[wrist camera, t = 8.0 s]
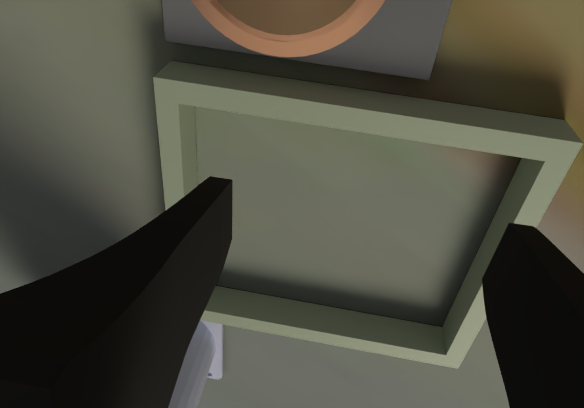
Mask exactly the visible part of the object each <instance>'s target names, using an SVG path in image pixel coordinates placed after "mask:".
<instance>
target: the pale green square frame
mask: <svg viewBox="0 0 584 408" xmlns="http://www.w3.org/2000/svg"><path fill="white" fill-rule="evenodd" d="M153 82H154V93H155V103H156V114H157V125H158V135H159V146H160V157H161V167H162V178H163V189H164V199H165V210H167V209H168V208H170V207H171V206H172V205H174V204H175V203H177V202H178V201H179V200H180V199H182V198H183V197H184V196H185V195H187V194H188V193H189V192H191V191H192V190H193V189H194V188H196V187H197V186H198V183H197V156H196V130H195V106H196V107H202V108H209V109H215V110H221V111H228V112H234V113H241V114H247V115H253V116H260V117H266V118H272V119H279V120H285V121H291V122H298V123H304V124H310V125H317V126H323V127H330V128H336V129H342V130H349V131H355V132H361V133H368V134H374V135H380V136H387V137H393V138H400V139H406V140H412V141H419V142H425V143H431V144H438V145H444V146H450V147H457V148H463V149H470V150H476V151H482V152H489V153H495V154H501V155H508V156H514V157H520V158H521V161H520V163H519V165H518V167H517V169H516V171H515V173H514V175H513V177H512V180H511V182H510V184H509V186H508V188H507V190H506V192H505V194H504V197H503V199H502V201H501V203H500V205H499V207H498V209H497V211H496V214H495V216H494V218H493V220H492V222H491V224H490V226H489V228H488V230H487V233H486V235H485V237H484V239H483V241H482V243H481V245H480V247H479V250H478V252H477V254H476V256H475V258H474V260H473V262H472V264H471V267H470V269H469V271H468V273H467V275H466V277H465V279H464V281H463V284H462V286H461V288H460V290H459V292H458V294H457V296H456V298H455V300H454V303H453V305H452V307H451V309H450V311H449V313H448V315H447V317H446V320H445V322H444V324H443V326H442V327H439V326H433V325H428V324H422V323H417V322H411V321H406V320H400V319H395V318H389V317H384V316H378V315H373V314H367V313H362V312H357V311H351V310H346V309H340V308H335V307H329V306H324V305H318V304H313V303H307V302H302V301H296V300H291V299H285V298H280V297H274V296H269V295H263V294H258V293H252V292H247V291H241V290H236V289H230V288H225V287H219V286H215V288H214V290H213V293H212V295H211V297H210V299H209V301H208V304H207V306H206V308H205V310H204V313H203V315H202V317H201V319H200V320H202V321H207V322H212V323H218V324H223V325H228V326H234V327H239V328H244V329H249V330H255V331H260V332H265V333H271V334H276V335H281V336H287V337H292V338H297V339H303V340H308V341H313V342H319V343H324V344H329V345H335V346H340V347H345V348H351V349H356V350H361V351H367V352H372V353H377V354H383V355H388V356H393V357H399V358H404V359H409V360H415V361H420V362H425V363H431V364H436V365H441V366H447V367H452V368H457V369H458V368H459V366H460V364H461V363H462V361H463V359H464V357H465V355H466V354H467V352H468V350H469V348H470V346H471V345H472V343H473V341H474V339H475V337H476V336H477V334H478V332H479V330H480V328H481V327H482V325H483V323H484V321H485V319H486V318H487V317H486V313H485V305H484V297H483V287H482V278H483V276H484V273H485V271H486V269H487V267H488V265H489V263H490V261H491V259H492V257H493V255H494V253H495V251H496V248H497V246H498V244H499V242H500V240H501V238H502V236H503V234H504V232H505V230H506V228H507V226H508V223H515V224H522V225H528V226H534V227H535V228H536V227H537V226H538V224H539V222H540V220H541V218H542V217H543V215H544V213H545V211H546V209H547V208H548V206H549V204H550V202H551V200H552V199H553V197H554V195H555V193H556V191H557V190H558V188H559V186H560V184H561V182H562V181H563V179H564V177H565V175H566V173H567V172H568V170H569V168H570V166H571V164H572V163H573V161H574V159H575V157H576V155H577V154H578V152H579V150H580V148H581V146H582V145H583V142H582V141H581V140H580V138H579V137H578V136H577V134H576V133H575V132H574V131H573V129H572V128H571V127H570V125H569V124H568V123H567V121H566V120H560V119H554V118H547V117H540V116H534V115H527V114H521V113H514V112H507V111H501V110H494V109H487V108H481V107H474V106H468V105H461V104H454V103H448V102H441V101H435V100H428V99H421V98H415V97H408V96H401V95H395V94H388V93H382V92H375V91H368V90H362V89H355V88H348V87H342V86H335V85H329V84H322V83H315V82H309V81H302V80H296V79H289V78H282V77H276V76H269V75H262V74H256V73H249V72H243V71H236V70H229V69H223V68H216V67H210V66H203V65H196V64H190V63H183V62H176V61H170V62H169V63H168V64H167V65H166V66H165V67H164V68H162V69H161V70H160V71H159V72H158V73H157V74H156V75H155V76H154V77H153Z"/></svg>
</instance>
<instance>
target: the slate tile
mask: <svg viewBox="0 0 584 408" xmlns="http://www.w3.org/2000/svg"><path fill="white" fill-rule="evenodd" d="M451 3H452V0H385V1H384V3H383V4H382V6H381V7H380V9H379V10H378V12H377V13H376V14H375V15H374V16H373V17H372V19H371V20H370V21H369V22H368V23H367V24H366V25H365V26H364V27H363V28H362V29H360V30H359V31H358V32H357V33H356V34H355V35H353V36H352V37H350V38H349V39H347V40H346V41H344V42H343V43H341V44H339V45H337V46H335V47H333V48H331V49H328V50H326V51H323V52H320V53H317V54H312V55H308V56H300V57H277V56H271V55H266V54H262V53H259V52H256V51H253V50H250V49H248V48H246V47H243V46H241V45H239V44H237V43H236V42H234V41H232V40H231V39H229V38H228V37H226V36H225V35H223V34H222V33H221V32H220V31H218V30H217V29H216V28H215V27H214V26H213V25H212V24H211V23H210V22H209V21H208V20H207V19H206V18H205V17H204V16H203V15H202V14H201V13H200V11H199V10H198V9H197V8H196V6H195V5H194V4H193V2H192V1H191V0H162V6H163V20H164V33H165V41H168V42H175V43H181V44H188V45H195V46H202V47H208V48H215V49H222V50H229V51H235V52H242V53H249V54H255V55H262V56H269V57H276V58H282V59H289V60H296V61H303V62H309V63H316V64H323V65H330V66H336V67H343V68H350V69H356V70H363V71H370V72H377V73H383V74H390V75H397V76H404V77H410V78H417V79H424V80H429V79H430V75H431V72H432V68H433V65H434V61H435V58H436V55H437V51H438V48H439V44H440V41H441V37H442V34H443V30H444V27H445V24H446V20H447V17H448V13H449V10H450V6H451Z"/></svg>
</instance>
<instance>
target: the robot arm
mask: <svg viewBox="0 0 584 408" xmlns="http://www.w3.org/2000/svg"><path fill="white" fill-rule="evenodd" d="M231 240H232V180H230V179H224V178H217V177H211V176H210V177H209V178H207V179H206V180H205V181H203V182H202V183H201V184H199V185H198V186H197V187H196V188H194V189H193V190H192V191H191V192H189V193H188V194H187V195H185V196H184V197H183V198H182V199H180V200H179V201H178V202H177V203H175V204H174V205H172V206H171V207H170V208H168V209H167V210H166V211H164V212H163V213H162V214H160V215H159V216H158V217H156V218H155V219H153V220H152V221H151V222H149V223H148V224H146V225H145V226H143V227H142V228H140V229H139V230H137V231H136V232H134V233H133V234H131V235H129V236H128V237H126V238H124V239H123V240H121V241H119V242H117V243H116V244H114V245H112V246H110V247H108V248H107V249H105V250H103V251H101V252H99V253H97V254H95V255H93V256H91V257H89V258H87V259H85V260H83V261H81V262H78V263H76V264H74V265H72V266H70V267H67V268H65V269H63V270H61V271H59V272H57V273H54V274H52V275H50V276H47V277H44V278H42V279H39V280H37V281H34V282H32V283H29V284H26V285H24V286H21V287H18V288H15V289H13V290H10V291H7V292H4V293H1V294H0V408H197V406H198V403H199V400H200V397H201V394H202V391H203V388H204V385H205V382H206V379H207V378H212V379H220V378H222V374H223V324H218V323H212V322H207V321H202V320H200V319H201V317H202V315H203V313H204V310H205V308H206V306H207V304H208V301H209V299H210V297H211V295H212V293H213V290H214V288H215V286H216V284H217V281H218V279H219V277H220V274H221V272H222V270H223V267H224V264H225V260H226V257H227V254H228V250H229V247H230V243H231ZM482 287H483V297H484V305H485V313H486V317H487V322H488V326H489V329H490V333H491V337H492V341H493V345H494V348H495V352H496V356H497V360H498V363H499V367H500V371H501V374H502V378H503V382H504V385H505V389H506V393H507V397H508V402H509V406H510V408H584V273H582V272H581V271H580V270H579V269H578V268H577V267H576V266H575V265H574V264H573V263H572V262H571V261H570V260H569V259H568V258H567V257H566V256H565V255H564V254H563V253H562V252H561V251H560V250H559V249H558V248H557V247H556V246H555V245H554V244H553V243H552V242H551V241H549V240H548V239H547V238H546V237H545V236H544V235H543V234H542V233H541V232H540V231H539V230H537V229H536V228H535V227H534V226H528V225H522V224H515V223H508V226H507V228H506V230H505V232H504V234H503V236H502V238H501V240H500V242H499V244H498V246H497V248H496V251H495V253H494V255H493V257H492V259H491V261H490V263H489V265H488V267H487V269H486V271H485V273H484V276H483V278H482Z"/></svg>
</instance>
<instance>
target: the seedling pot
mask: <svg viewBox="0 0 584 408" xmlns="http://www.w3.org/2000/svg"><path fill="white" fill-rule="evenodd" d="M191 1H192V2H193V4H194V5H195V6H196V8H197V9H198V10H199V11H200V13H201V14H202V15H203V16H204V17H205V18H206V19H207V20H208V21H209V22H210V23H211V24H212V25H213V26H214V27H215V28H216V29H217V30H218V31H220V32H221V33H222V34H223V35H225V36H226V37H228V38H229V39H231V40H232V41H234V42H236V43H237V44H239V45H241V46H243V47H246V48H248V49H250V50H253V51H256V52H259V53H262V54H266V55H271V56H277V57H300V56H308V55H312V54H317V53H320V52H323V51H326V50H328V49H331V48H333V47H335V46H337V45H339V44H341V43H343V42H344V41H346V40H347V39H349V38H350V37H352V36H353V35H355V34H356V33H357V32H358V31H359V30H360V29H362V28H363V27H364V26H365V25H366V24H367V23H368V22H369V21H370V20H371V19H372V17H373V16H374V15H375V14H376V13H377V12H378V10H379V9H380V7H381V6H382V4H383V3H384V1H385V0H191Z"/></svg>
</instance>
